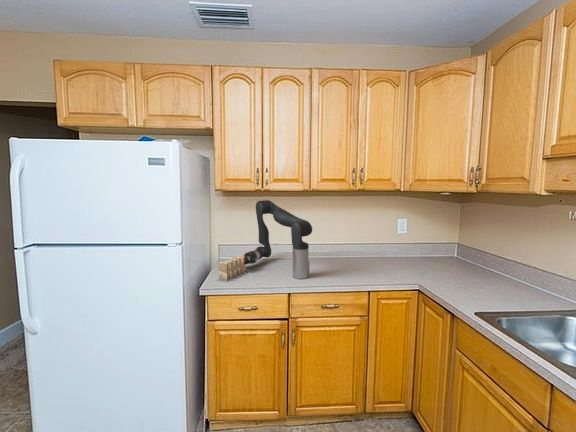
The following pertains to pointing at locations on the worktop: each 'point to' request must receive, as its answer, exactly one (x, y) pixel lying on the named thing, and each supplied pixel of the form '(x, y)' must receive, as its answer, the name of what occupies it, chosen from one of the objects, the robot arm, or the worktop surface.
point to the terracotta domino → (242, 263)
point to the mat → (233, 277)
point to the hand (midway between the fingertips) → (238, 262)
